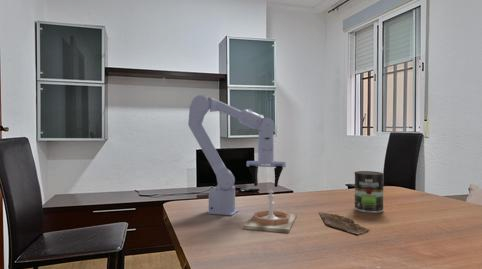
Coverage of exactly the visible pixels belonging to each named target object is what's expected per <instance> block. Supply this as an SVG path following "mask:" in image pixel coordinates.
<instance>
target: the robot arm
mask: <svg viewBox="0 0 482 269" xmlns="http://www.w3.org/2000/svg"><path fill="white" fill-rule="evenodd" d="M208 112H211V113H212V112H213V113H214V112H220V113H223V114H225V115H228V116H230V117H233V118H236V119H238V121H239V124H241V125H244V126H246V127H249V128H251V129H253V130H256V129H257V131H258V138H257V149H258V150H257V155H258V156H257V158H258V159H257V160H247V161H246V167H248V171H249V172H250V174H251V177H252V180H253V184H254V187H257V186H258V184H259V183H258V182H259V180H258V179H259V178H258V172H259V167H261V168H262V167H263V168H264V167H265V168H267V167H268V168H274V169H273V170H274V187H275V188H277V187H278V184H279V180H280V177H281V173H282V171H283V170H284V168H286V166H287V164H286V163H287V162H286V161H280V160H279V161H276V160H275V159H274V156H275V154H274V151H275V150H274V149H275V148H274V147H275V146H274V143H275V142H274V131H275V128H276V125H275V121H274V120H273V119H272V118H271V117H264V114H259V113H257V112H254V111H253V109H252V108H245V109H242V110H240V109H238V108H236V107H234V106H232V105H230V104H227V103H225V102H223V101H220V100H218V99H215V98H212V97H207V96H205V95H204V94H203V95H201V94H199V95H196V96H195V97H194V98H192V100H191V103H190V105H189V113H188V123H187V125H188V128H189V129H190V131H191V133H192V135H193V136H194V138H195V140H196V142H197V143H198V145H199V147H200V148H201V151H202V153H203V154H204V156H205V158H206V159H207V162H208V164H209V165H210V166H211V169H212V170H213V172H214V174H215V176H216V183H217V185H216V186H215V187H212V188H210V189H209V191H208V212H207V214H209V215H210V214H211V215H220V216H221V215H222V216H234V215H235V214H236V213H237V212H239V210H240V209H239V208H236V186H234V185H235V182H236V178H235V176H234V174H233V173H232V171H231V170H230V169H229V168H227V167H226V165H225V163H224V162H223V160H222V158H221V157H220V155H219V154H220V153H219V152H218V151H217V149H216V147H215V145H214V144H213V142H212V140H211V139H210V138H211V137H209V134H208V133H207V132H206V130H205V127H204V126H203V121H204V118H205V115H207V113H208Z"/></svg>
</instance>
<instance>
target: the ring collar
mask: <svg viewBox="0 0 482 269" xmlns="http://www.w3.org/2000/svg"><path fill="white" fill-rule="evenodd" d="M273 213H274V215H275V216H282V217H284V218H281V219H262V218H260V216H267V215H268V214H269V209H268V210H261V211H259V212H258V211H255V213H254V214H253V215H252V217H253V220H254V221H256V222H258V223H260V224H268V225H279V224H285V223H289V221H290V214H291V213H289V212H285V211H283V210H273Z"/></svg>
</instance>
